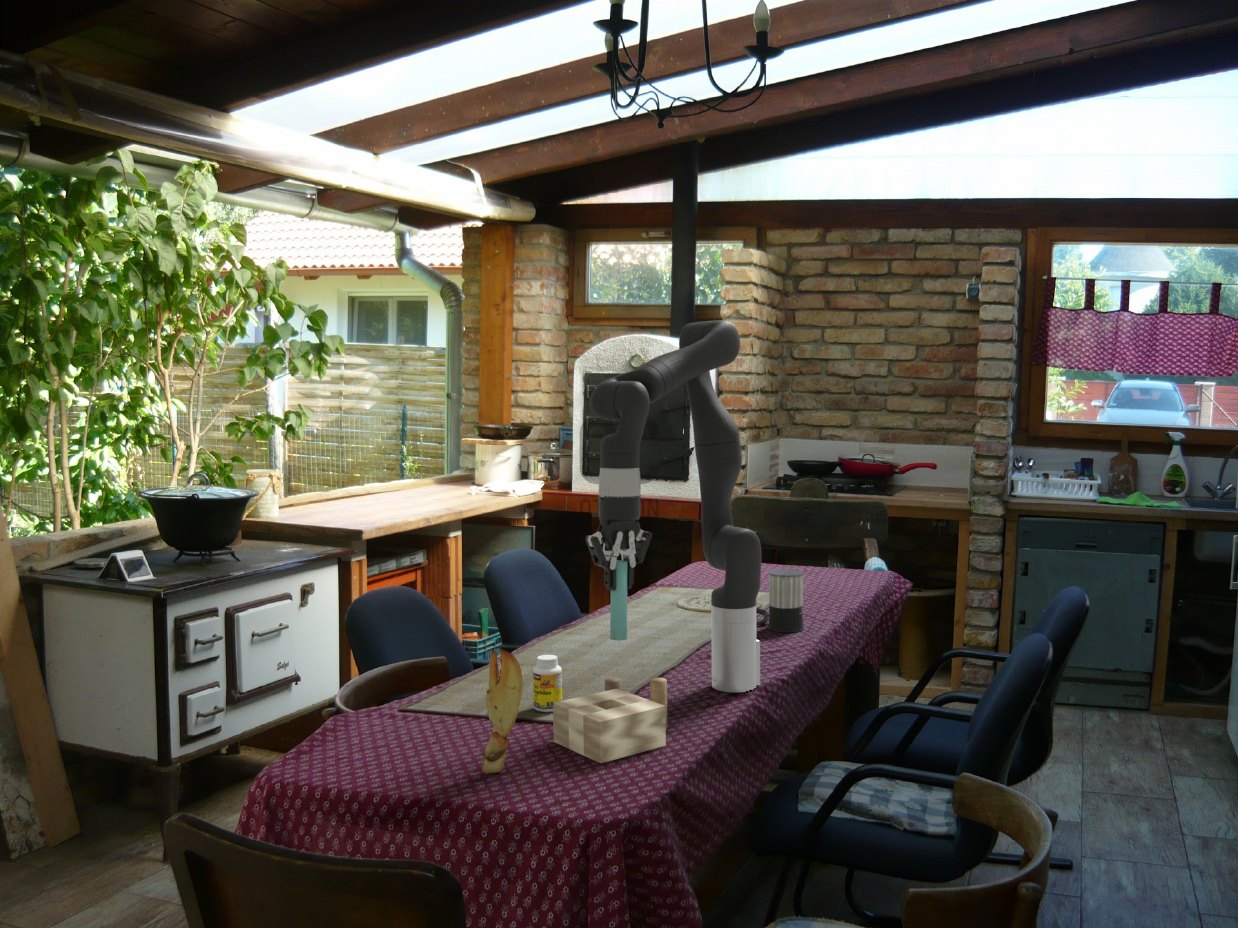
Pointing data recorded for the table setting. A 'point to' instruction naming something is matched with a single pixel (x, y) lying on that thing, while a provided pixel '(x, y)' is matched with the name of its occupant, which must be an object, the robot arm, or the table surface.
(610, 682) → the short pin
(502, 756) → the crab claw
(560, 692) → the supplement bottle
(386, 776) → the table surface
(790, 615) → the milk frother
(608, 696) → the hole block
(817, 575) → the table surface
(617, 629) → the long pin
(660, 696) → the medium pin
